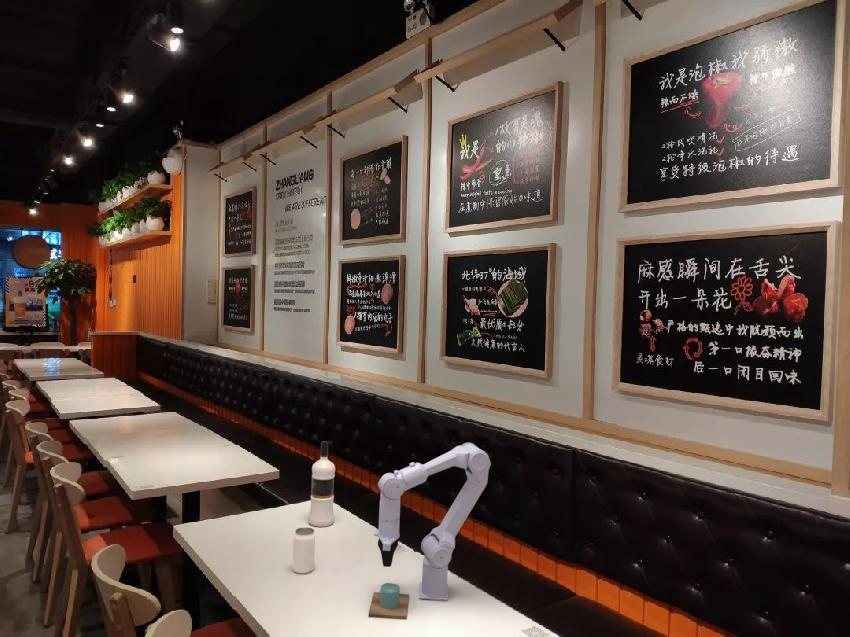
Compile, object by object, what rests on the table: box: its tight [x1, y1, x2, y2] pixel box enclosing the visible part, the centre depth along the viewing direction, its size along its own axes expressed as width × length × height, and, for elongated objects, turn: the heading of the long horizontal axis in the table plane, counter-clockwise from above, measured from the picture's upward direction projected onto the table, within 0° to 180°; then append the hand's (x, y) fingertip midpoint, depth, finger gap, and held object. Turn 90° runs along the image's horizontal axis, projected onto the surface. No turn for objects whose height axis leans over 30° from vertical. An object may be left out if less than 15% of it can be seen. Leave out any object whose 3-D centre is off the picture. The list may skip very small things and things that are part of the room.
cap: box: [379, 582, 401, 609], centre depth 171 cm, size 5×5×4 cm
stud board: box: [367, 591, 410, 620], centre depth 171 cm, size 12×10×4 cm
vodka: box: [307, 440, 336, 528], centre depth 228 cm, size 9×9×30 cm
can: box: [291, 526, 316, 575], centre depth 191 cm, size 6×6×12 cm
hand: (387, 565), depth 175 cm, fingers closed
